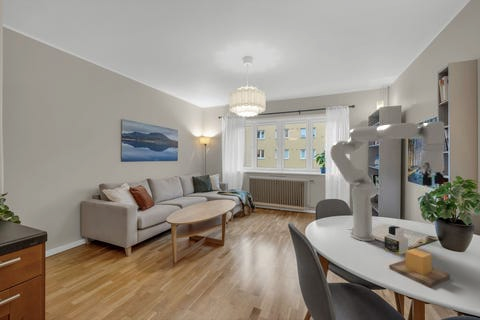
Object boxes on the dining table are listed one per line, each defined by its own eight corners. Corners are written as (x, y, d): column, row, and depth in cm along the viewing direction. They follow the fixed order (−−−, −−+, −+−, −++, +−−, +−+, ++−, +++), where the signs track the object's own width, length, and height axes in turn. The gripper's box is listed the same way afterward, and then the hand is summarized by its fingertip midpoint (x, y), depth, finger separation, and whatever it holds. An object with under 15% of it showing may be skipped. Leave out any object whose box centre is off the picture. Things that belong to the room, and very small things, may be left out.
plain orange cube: (405, 267, 86) (405, 251, 86) (414, 264, 88) (414, 248, 88) (422, 275, 80) (422, 257, 80) (431, 271, 83) (431, 254, 83)
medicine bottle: (384, 249, 106) (384, 226, 106) (393, 246, 109) (393, 224, 109) (399, 255, 100) (398, 230, 99) (408, 252, 102) (408, 228, 102)
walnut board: (389, 268, 88) (389, 254, 88) (409, 261, 94) (409, 248, 93) (429, 287, 75) (429, 271, 75) (450, 278, 81) (450, 263, 81)
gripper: (433, 148, 103) (433, 182, 104) (412, 148, 97) (412, 185, 97) (453, 148, 96) (453, 184, 97) (432, 148, 90) (432, 187, 90)
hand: (433, 184), depth 97 cm, fingers open, 9 cm apart
